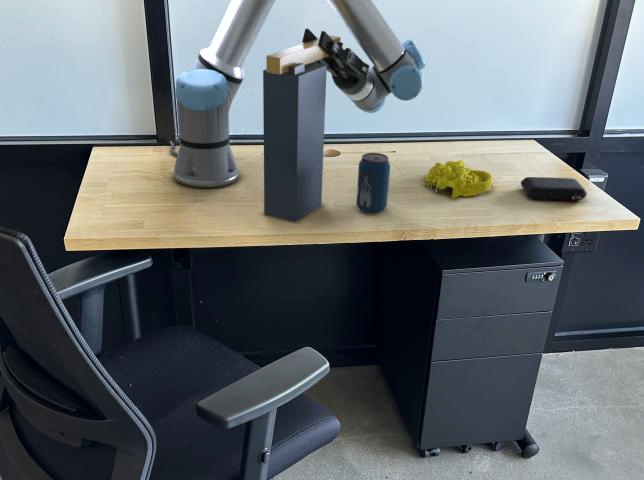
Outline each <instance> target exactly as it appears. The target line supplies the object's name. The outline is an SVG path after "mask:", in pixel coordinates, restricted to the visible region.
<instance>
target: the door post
mask: <svg viewBox="0 0 644 480" xmlns="http://www.w3.org/2000/svg"><path fill="white" fill-rule="evenodd" d="M327 72H328V71H327V65H323V64H317V63H309V64H307V65H304V64H303V63H298V64H295V65H292V66H290V67H289V71H288V72H285V73H283V74H280V75H279V74H274V73H268V72H266V68H265V69H263V70H262V100H263V101H262V103H263V104H262V105H263V106H262V107H263V109H262V110H263V111H262V112H263V113H262V114H263V117H262V118H263V119H262V120H263V122H262V123H263V215H264V216H268V217H271V218H276V219H281V220H285V221H289V222H293V223H298V222H299V221H300V220H302V219H303V218H304V217H306V216H307V215H309V214H310V213H311V212H314V211H315V210H316V209H318V208H319V207H320V206H322V200H323V199H322V197H323V196H322V195H323V175H324V173H323V170H324V149H325V148H324V145H325V124H326V123H325V119H326V96H327V95H326V94H327Z"/></svg>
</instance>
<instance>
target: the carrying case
mask: <svg viewBox="0 0 644 480" xmlns="http://www.w3.org/2000/svg"><path fill="white" fill-rule="evenodd" d="M520 186H521V187H522V188H523V190H524V192H525V194H526V195H527V197H529V198H530V199H533V200H549V201H550V200H551V201H582V200H583V199H585V198H586V197H587V195H588V192H587V191H586V189H585V188H584V186H582V184H581V182H579V181H578V180H577V179H575V178H573V177H572V178H569V177H544V176H543V177H541V176H527V177H524V178H523V179H522V180H521V181H520Z"/></svg>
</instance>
